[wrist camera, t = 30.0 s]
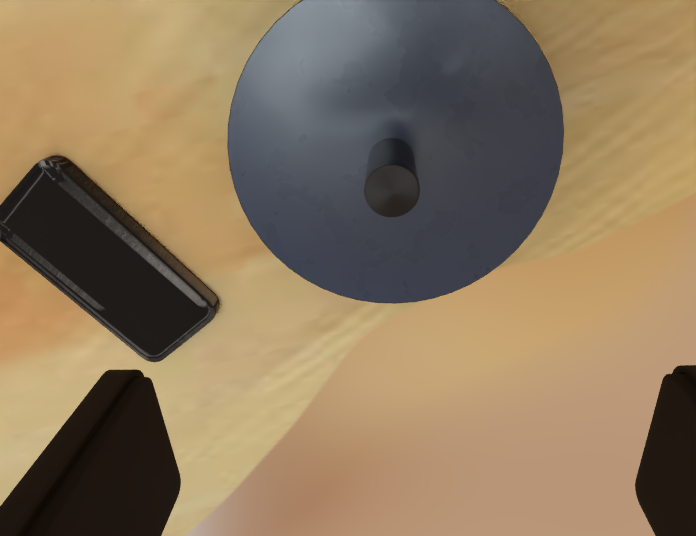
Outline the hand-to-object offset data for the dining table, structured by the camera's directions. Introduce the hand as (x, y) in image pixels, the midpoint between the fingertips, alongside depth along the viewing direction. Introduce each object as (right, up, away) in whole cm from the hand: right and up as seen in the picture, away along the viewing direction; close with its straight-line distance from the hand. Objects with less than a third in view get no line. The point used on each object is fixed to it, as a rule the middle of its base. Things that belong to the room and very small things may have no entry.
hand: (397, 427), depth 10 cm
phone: (-18, +3, +27) cm, 32 cm away
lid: (+1, +9, +17) cm, 19 cm away
